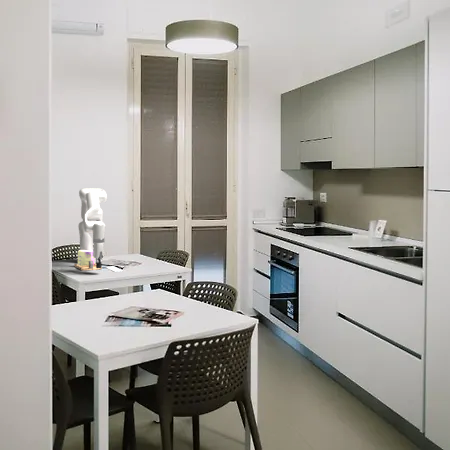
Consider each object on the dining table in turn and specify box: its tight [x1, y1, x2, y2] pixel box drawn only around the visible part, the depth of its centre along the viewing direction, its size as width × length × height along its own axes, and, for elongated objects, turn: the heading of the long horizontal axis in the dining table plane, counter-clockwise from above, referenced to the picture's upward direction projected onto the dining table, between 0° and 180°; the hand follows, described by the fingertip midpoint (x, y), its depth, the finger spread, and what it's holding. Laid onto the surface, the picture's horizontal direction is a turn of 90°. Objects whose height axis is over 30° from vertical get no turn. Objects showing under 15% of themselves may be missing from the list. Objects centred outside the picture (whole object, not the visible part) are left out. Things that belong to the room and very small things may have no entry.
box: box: [77, 249, 95, 266], centre depth 421 cm, size 10×6×12 cm, turn 79°
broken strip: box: [105, 266, 123, 273], centre depth 413 cm, size 20×6×1 cm, turn 28°
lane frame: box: [73, 261, 103, 271], centre depth 418 cm, size 20×14×6 cm
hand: (98, 268), depth 394 cm, fingers closed
